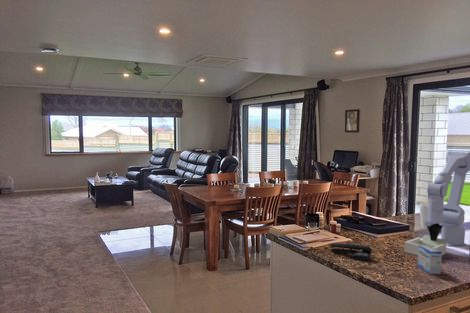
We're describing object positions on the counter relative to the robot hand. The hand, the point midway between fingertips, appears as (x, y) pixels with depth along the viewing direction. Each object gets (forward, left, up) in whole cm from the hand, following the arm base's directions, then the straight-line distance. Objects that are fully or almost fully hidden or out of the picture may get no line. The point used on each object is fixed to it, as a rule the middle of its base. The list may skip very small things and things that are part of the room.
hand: (433, 240), depth 162 cm
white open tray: (+7, +3, -4) cm, 9 cm away
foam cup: (-25, -33, -5) cm, 42 cm away
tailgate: (+2, +1, -3) cm, 3 cm away
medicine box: (+20, +21, -5) cm, 29 cm away
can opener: (+41, 0, -5) cm, 41 cm away
